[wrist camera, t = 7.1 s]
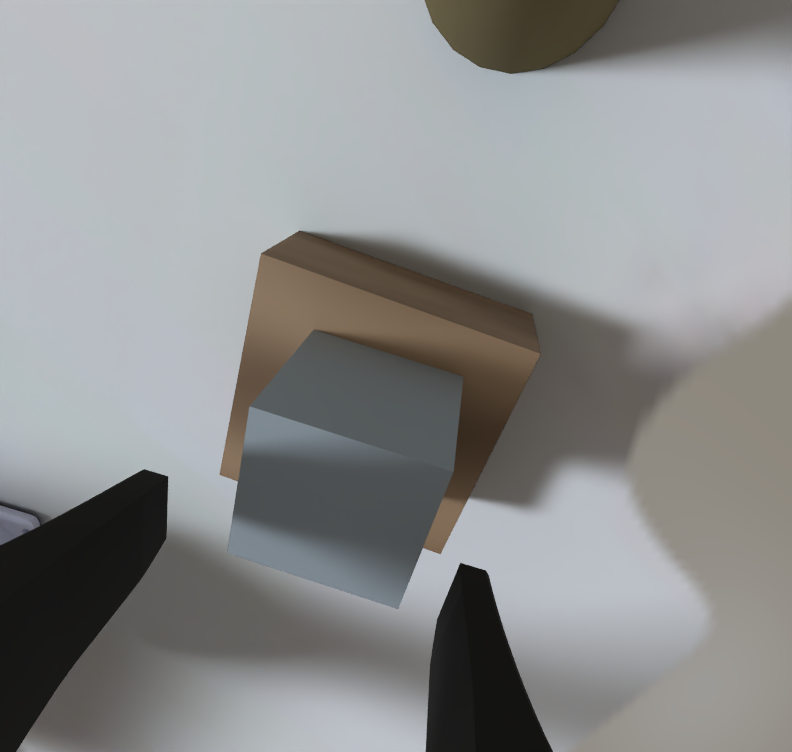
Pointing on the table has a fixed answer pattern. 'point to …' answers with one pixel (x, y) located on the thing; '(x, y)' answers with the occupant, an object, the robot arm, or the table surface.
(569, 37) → the cork
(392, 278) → the walnut block
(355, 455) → the slate cube
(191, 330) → the table surface
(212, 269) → the table surface
